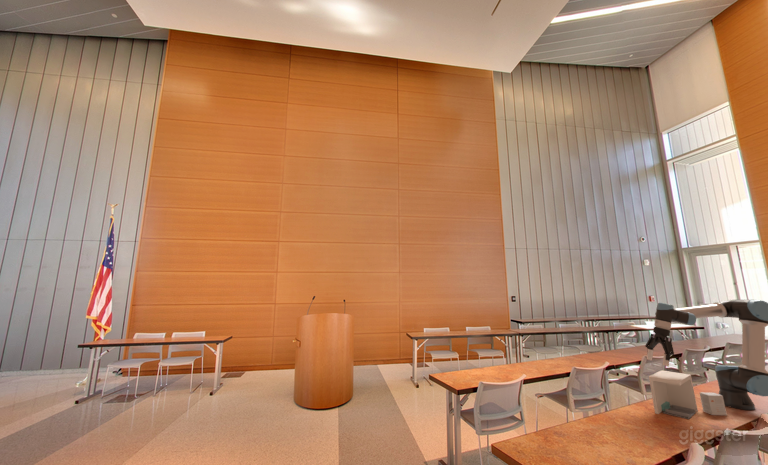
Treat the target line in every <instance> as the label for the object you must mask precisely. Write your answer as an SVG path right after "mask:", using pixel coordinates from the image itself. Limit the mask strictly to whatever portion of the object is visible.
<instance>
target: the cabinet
mask: <svg viewBox="0 0 768 465" xmlns="http://www.w3.org/2000/svg"><path fill="white" fill-rule="evenodd" d="M648 380H649V386H650V391H651V396H652V403H653V409H654V410H653V411H654V414H656V415H659V414H661V413H662V414H665V415H669V416H673V417H677V418H681V419H686V420H690V419H691V418H692V417H693V416H695V414H696V413H697V412H698V411H699V410H698V405H697V399H696V395H695V394H696V393H695V388H694V384H693V379H692V374H688V373H681V372H675V371H668V370H661V369H660V370H659V371H657V372H655V373H654V374H653V373H652V374H651V375H649V376H648Z"/></svg>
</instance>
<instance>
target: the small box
mask: <svg viewBox="0 0 768 465" xmlns="http://www.w3.org/2000/svg"><path fill="white" fill-rule="evenodd" d="M699 398H700V401H701V402H700V403H701V407H702V412H704V413H706V414H709V415H711V416H727V414H728V413H727V409H726V406H725V404H724V399H723V396H722V395H719V393H716V392H703V391H701V392H699Z"/></svg>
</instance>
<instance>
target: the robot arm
mask: <svg viewBox="0 0 768 465" xmlns="http://www.w3.org/2000/svg"><path fill="white" fill-rule="evenodd" d="M715 317H718V318H721V319H722V318H733V319H734V318H735V319H738V321H739V322H740V323H741V324H742V326H741V327H742V328H741V329H742V331H741V332H742V334H741V335H742V336H741V338H742V340H741V364H740V365H726V364H725V365H724V364H718V365H715V366H714V367H715V368H714V369H715V370H714V372H715V375H716V379H717V384H718V388H719V392H718V394H719V395H722V396H723V399H724V404H725V407H728V408H732V409H737V410H739V409H740V410H745V411H747V410H748V411H752V410H756V405H755V403H754V402H753V400H752V399H751V396H750V395H749V393H750V394H752V395H755V396H760V397H768V370H766V327H767V326H768V302H767V301H764V300H760V299H728V300H724V301H722V300H721V301H716V302H713V303H712V304H706V305H705V304H704V305H695V306H689V307H688V306H687V307H680V308H679V307H678V308H677V307H676V308H675V307H674V305H673V304H670V303H665V302H658V303H657V305H656V310H655V318H654V324H653V325H654V326H653V331H652V332H653V333H654V334H653V333H650V335H649V338H648V340H647V342H646V344H645V345H644V347H645V348H646V349H647V352H646V360H648V361H651V362H652V361H653V356H654V348H656V347H657V345H659V344H661V346H662V349H663V351H664V352H663V359H662V366H666V367H669V365H670V360H671V356H674V355H675V352H674V346H673V342H672V338H671V337H670V335H671V327H672V323H677V324H684V325H688V326H693V325H695V324H696V323H697V319H703V318H704V319H705V318H715Z"/></svg>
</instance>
